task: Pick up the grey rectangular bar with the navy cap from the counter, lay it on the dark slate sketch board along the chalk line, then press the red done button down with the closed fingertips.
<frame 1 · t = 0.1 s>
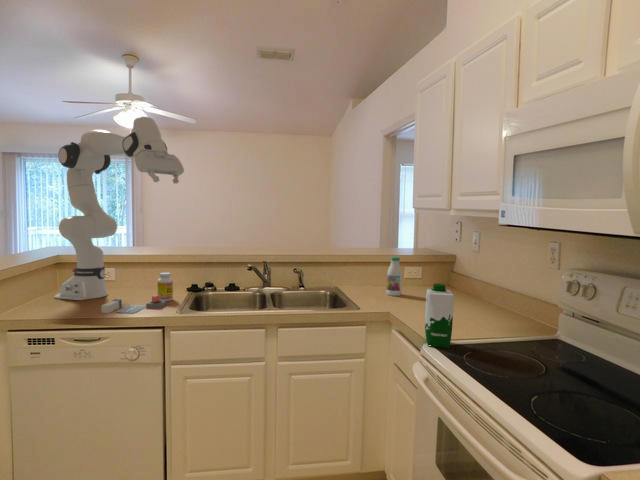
hand: (166, 182, 157), 54 cm above the countertop, tool tilted 30°, fingers open, 8 cm apart
milk carton: (437, 344, 133), on the countertop
grey rectangular bar: (111, 309, 166), on the countertop
milk bottle: (393, 295, 206), on the countertop
supplement bottle: (165, 300, 185), on the countertop
done button: (156, 299, 173), point 3 cm above the countertop, slide at 0.0 cm
button collar: (156, 306, 173), on the countertop
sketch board: (131, 309, 167), on the countertop
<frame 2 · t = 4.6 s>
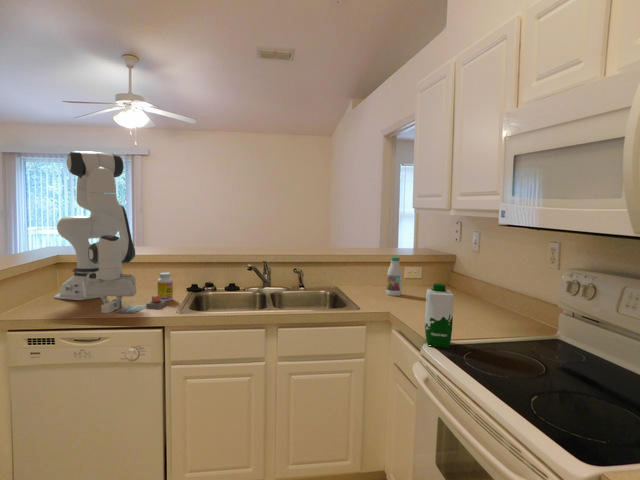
hand: (111, 306, 166), 2 cm above the countertop, tool pointing down, fingers closed on grey rectangular bar, 3 cm apart
grey rectangular bar: (111, 309, 166), on the countertop, touching gripper
everything else where it was.
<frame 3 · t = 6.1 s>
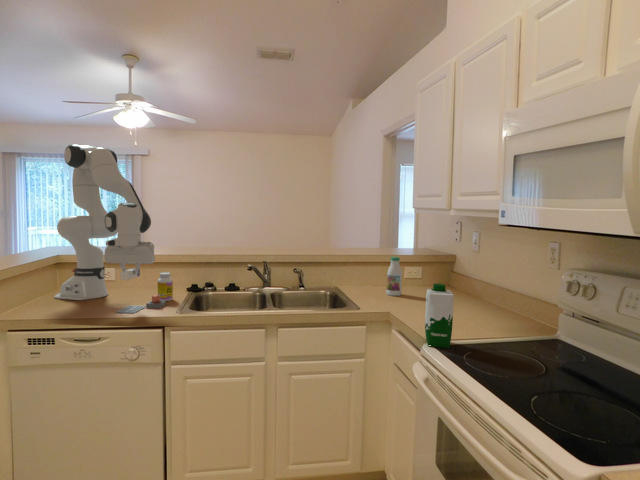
hand: (130, 273, 166), 16 cm above the countertop, tool pointing down, fingers closed on grey rectangular bar, 3 cm apart
grey rectangular bar: (130, 277, 166), point 14 cm above the countertop, touching gripper
everything else where it was.
when the fingers open (3 cm above the countertop, at t = 7.8 s): grey rectangular bar stays where it is, resting on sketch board.
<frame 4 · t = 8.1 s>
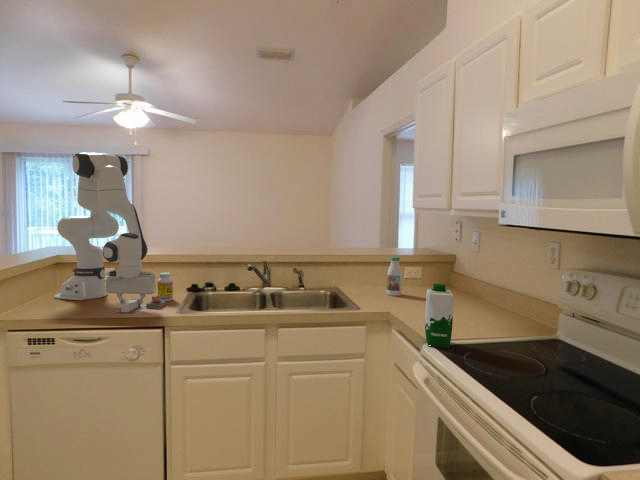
hand: (131, 303, 167), 3 cm above the countertop, tool pointing down, fingers open, 6 cm apart
grey rectangular bar: (131, 308, 167), resting on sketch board
everything else where it was.
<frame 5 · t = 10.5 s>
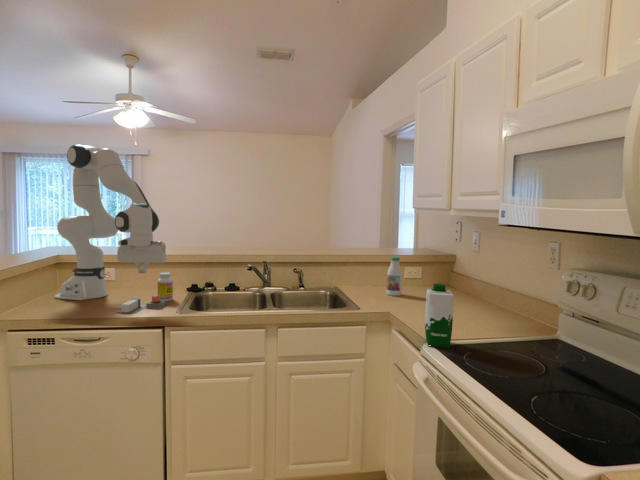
hand: (142, 273, 168), 16 cm above the countertop, tool pointing down, fingers closed
nothing on the countertop moved.
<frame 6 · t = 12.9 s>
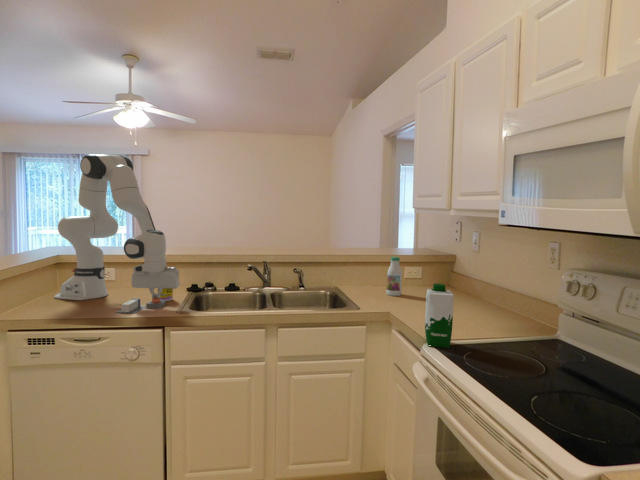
hand: (156, 297, 173), 4 cm above the countertop, tool pointing down, fingers closed
done button: (156, 301, 173), point 2 cm above the countertop, slide at 0.9 cm
everything else where it was.
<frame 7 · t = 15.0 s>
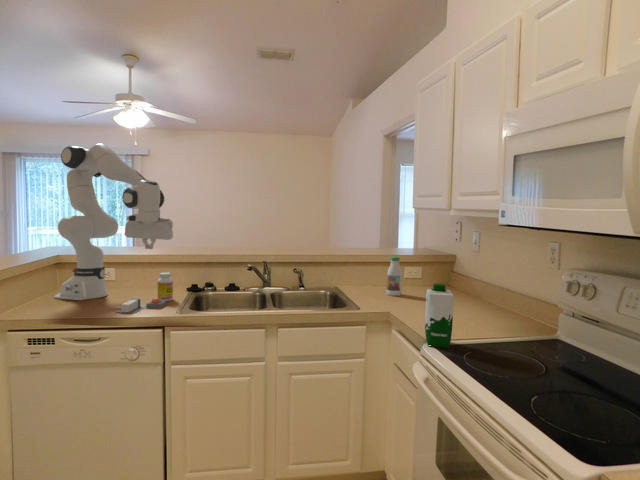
hand: (149, 248, 173), 25 cm above the countertop, tool pointing down, fingers closed
done button: (156, 302, 173), point 2 cm above the countertop, slide at 1.3 cm
everything else where it was.
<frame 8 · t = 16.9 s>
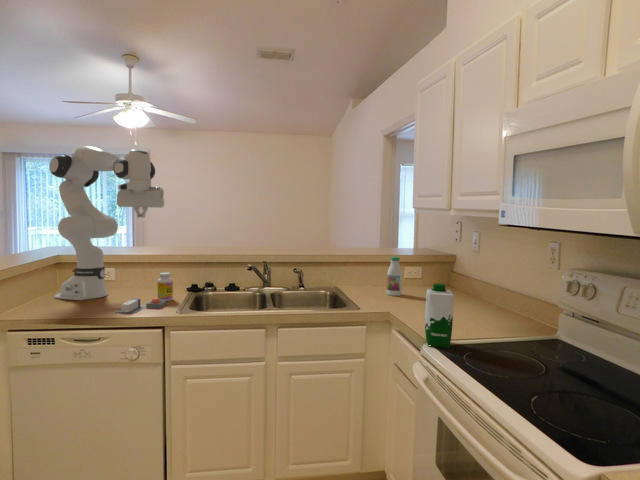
hand: (141, 217, 176), 39 cm above the countertop, tool pointing down, fingers closed
nothing on the countertop moved.
at the end: grey rectangular bar inside the target area on the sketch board (0.1 cm from its centre), point 0.3 cm above the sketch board's base; the gripper is holding nothing; done button slide at 1.3 cm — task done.
